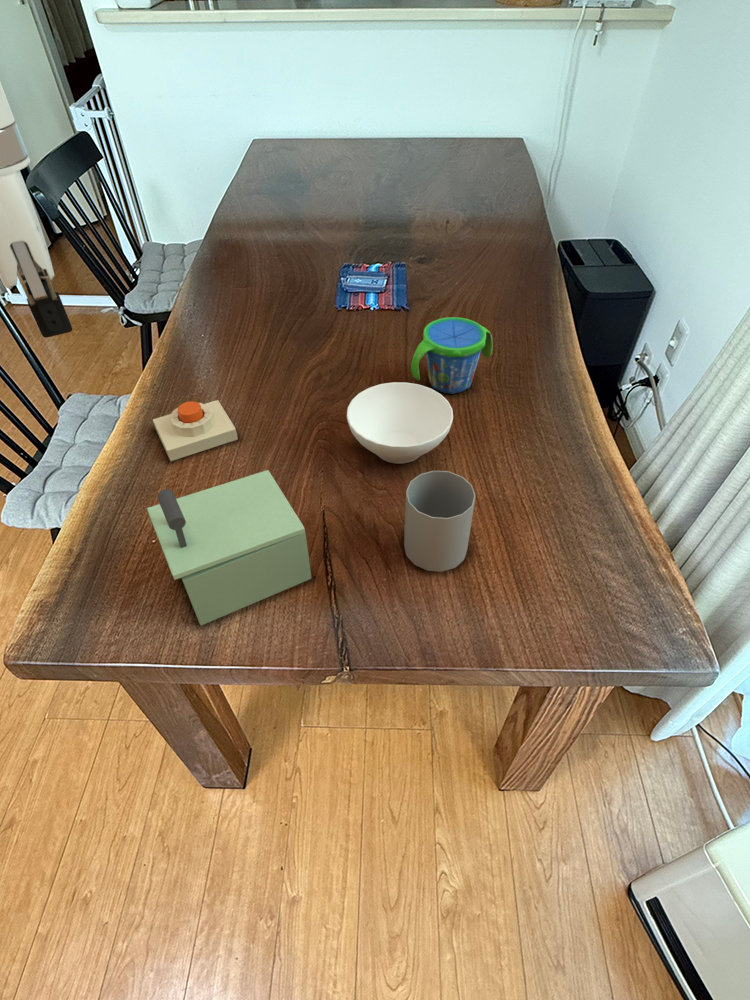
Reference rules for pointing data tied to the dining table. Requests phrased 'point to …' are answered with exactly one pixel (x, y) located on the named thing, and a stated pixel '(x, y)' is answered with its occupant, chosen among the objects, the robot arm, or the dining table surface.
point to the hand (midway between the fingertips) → (57, 331)
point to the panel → (195, 431)
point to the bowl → (399, 420)
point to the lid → (222, 522)
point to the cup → (438, 520)
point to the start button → (190, 412)
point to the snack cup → (452, 352)
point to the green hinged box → (248, 578)
